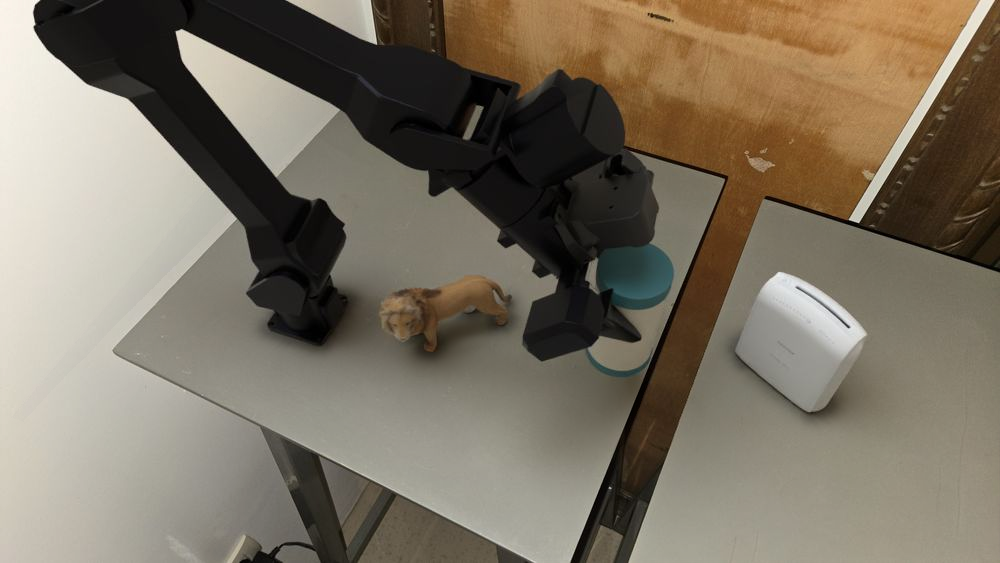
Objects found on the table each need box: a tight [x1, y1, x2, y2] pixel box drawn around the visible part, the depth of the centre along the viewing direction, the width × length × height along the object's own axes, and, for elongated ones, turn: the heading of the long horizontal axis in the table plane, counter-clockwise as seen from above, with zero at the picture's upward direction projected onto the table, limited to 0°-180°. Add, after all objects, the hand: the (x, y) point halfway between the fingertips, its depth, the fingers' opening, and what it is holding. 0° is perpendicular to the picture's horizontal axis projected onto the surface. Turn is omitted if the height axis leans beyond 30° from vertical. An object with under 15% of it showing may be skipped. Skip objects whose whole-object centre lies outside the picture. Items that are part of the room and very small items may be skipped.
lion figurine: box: [378, 274, 513, 353], centre depth 76 cm, size 15×5×9 cm, turn 122°
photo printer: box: [734, 271, 868, 413], centre depth 71 cm, size 10×4×12 cm, turn 39°
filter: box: [584, 242, 675, 378], centre depth 66 cm, size 6×6×12 cm
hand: (642, 310), depth 65 cm, fingers closed on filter, 6 cm apart
